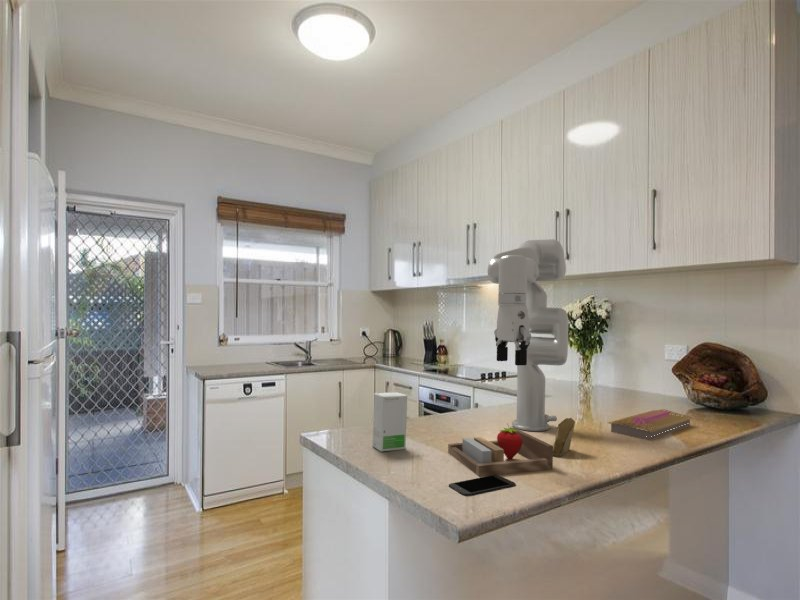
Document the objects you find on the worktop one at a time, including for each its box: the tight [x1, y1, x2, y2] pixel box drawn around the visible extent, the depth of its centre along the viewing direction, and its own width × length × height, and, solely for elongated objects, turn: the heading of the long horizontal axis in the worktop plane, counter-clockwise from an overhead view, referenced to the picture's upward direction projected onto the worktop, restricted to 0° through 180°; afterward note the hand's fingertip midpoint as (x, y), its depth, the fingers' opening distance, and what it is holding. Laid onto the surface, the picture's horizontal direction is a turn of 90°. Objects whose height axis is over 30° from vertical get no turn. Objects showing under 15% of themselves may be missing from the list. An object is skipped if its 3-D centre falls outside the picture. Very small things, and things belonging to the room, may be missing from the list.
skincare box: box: [372, 392, 408, 453], centre depth 136 cm, size 8×7×16 cm
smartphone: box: [448, 474, 517, 497], centre depth 108 cm, size 7×15×1 cm, turn 119°
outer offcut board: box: [461, 437, 492, 464], centre depth 124 cm, size 2×12×5 cm, turn 17°
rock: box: [552, 417, 576, 458], centre depth 135 cm, size 11×9×10 cm
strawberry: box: [496, 422, 523, 461], centre depth 127 cm, size 6×8×10 cm
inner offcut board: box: [473, 436, 505, 463], centre depth 125 cm, size 2×12×5 cm, turn 18°
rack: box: [447, 426, 554, 477], centre depth 126 cm, size 21×19×6 cm
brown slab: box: [607, 408, 694, 441], centre depth 165 cm, size 35×14×6 cm, turn 129°
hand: (511, 363), depth 127 cm, fingers open, 9 cm apart
